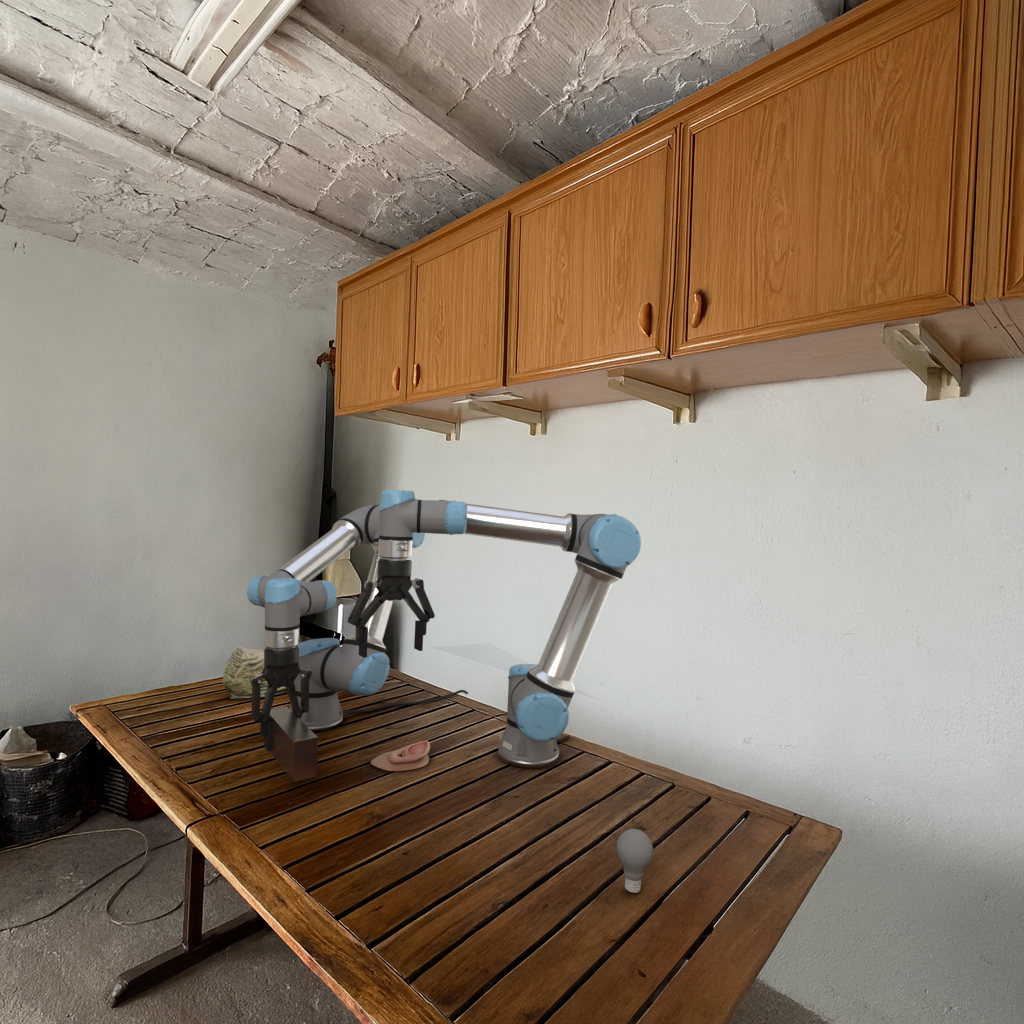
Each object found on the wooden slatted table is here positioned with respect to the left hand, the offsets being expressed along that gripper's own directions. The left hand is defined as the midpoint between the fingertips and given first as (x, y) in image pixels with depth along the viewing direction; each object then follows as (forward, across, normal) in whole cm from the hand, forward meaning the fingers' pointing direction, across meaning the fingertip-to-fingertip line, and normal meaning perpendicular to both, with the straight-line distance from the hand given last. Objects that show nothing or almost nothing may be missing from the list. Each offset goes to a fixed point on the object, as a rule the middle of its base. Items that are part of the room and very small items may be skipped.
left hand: (280, 746), depth 146 cm
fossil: (+7, +9, +58) cm, 59 cm away
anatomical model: (+6, +25, -11) cm, 28 cm away
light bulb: (+5, +36, -76) cm, 84 cm away
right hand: (-23, +19, -17) cm, 35 cm away
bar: (+1, 0, -7) cm, 7 cm away
